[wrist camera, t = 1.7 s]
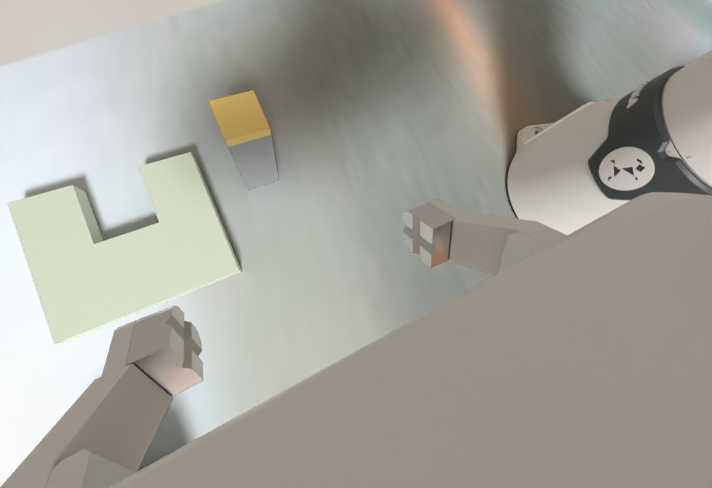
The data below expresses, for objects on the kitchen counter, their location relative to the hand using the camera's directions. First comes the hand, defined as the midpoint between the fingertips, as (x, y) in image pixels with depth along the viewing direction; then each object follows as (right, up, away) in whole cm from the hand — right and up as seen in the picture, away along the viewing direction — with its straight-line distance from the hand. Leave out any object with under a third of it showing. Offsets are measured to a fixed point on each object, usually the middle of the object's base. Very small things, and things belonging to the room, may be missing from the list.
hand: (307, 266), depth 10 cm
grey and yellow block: (-8, +8, +18) cm, 22 cm away
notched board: (-18, +1, +15) cm, 23 cm away
